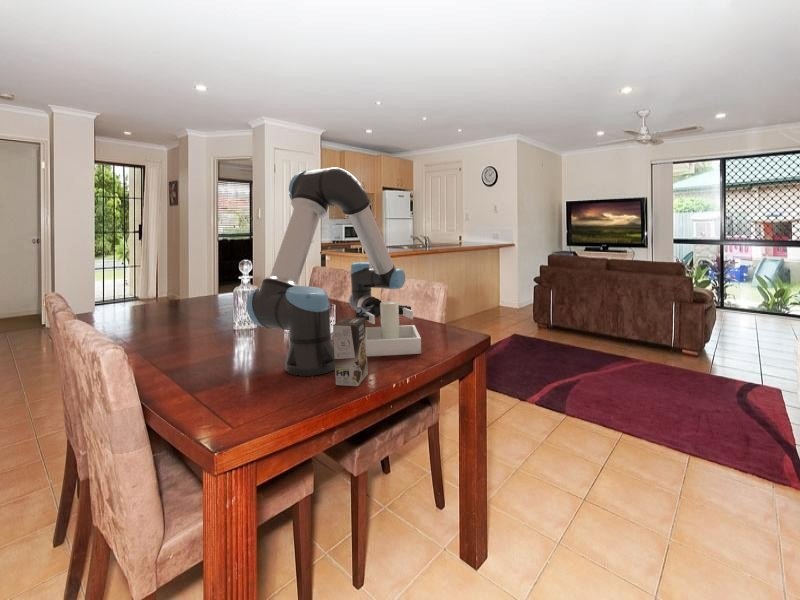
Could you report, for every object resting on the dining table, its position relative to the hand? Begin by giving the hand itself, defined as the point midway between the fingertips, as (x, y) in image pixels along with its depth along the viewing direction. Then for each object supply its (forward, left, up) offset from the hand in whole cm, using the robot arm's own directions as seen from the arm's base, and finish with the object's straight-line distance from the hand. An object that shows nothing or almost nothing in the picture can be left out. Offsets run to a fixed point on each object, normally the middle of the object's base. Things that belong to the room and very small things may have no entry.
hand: (393, 317), depth 141 cm
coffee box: (-13, -27, -11) cm, 32 cm away
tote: (-1, +2, -11) cm, 11 cm away
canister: (-1, +2, -10) cm, 10 cm away
